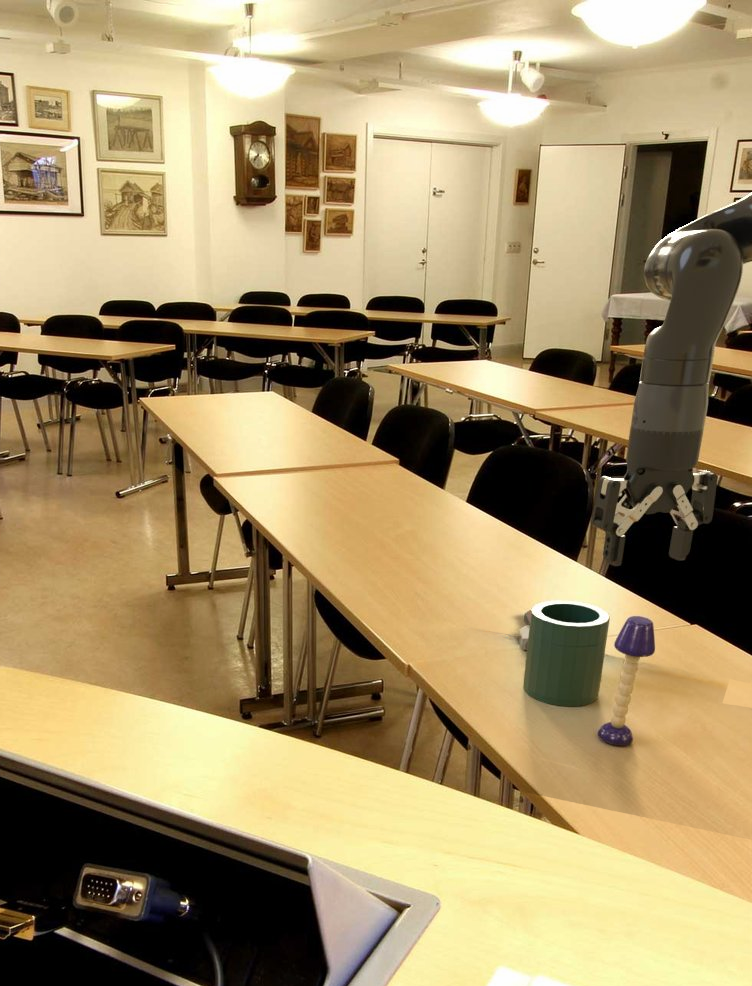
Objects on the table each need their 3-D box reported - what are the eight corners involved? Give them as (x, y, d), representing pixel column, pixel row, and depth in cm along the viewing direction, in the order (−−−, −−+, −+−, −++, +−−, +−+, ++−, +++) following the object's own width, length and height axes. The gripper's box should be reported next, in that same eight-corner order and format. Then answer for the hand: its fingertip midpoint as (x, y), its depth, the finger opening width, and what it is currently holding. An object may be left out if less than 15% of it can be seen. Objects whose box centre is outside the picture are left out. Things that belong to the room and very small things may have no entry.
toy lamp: (637, 734, 119) (660, 615, 112) (636, 750, 115) (659, 628, 108) (598, 727, 120) (618, 610, 114) (596, 743, 117) (616, 622, 110)
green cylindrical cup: (605, 685, 132) (616, 608, 128) (588, 712, 125) (600, 631, 120) (534, 671, 138) (543, 596, 133) (514, 696, 130) (522, 617, 125)
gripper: (630, 432, 98) (609, 575, 104) (746, 425, 100) (719, 565, 106) (591, 422, 105) (573, 557, 111) (700, 415, 107) (677, 548, 113)
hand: (645, 561), depth 108 cm, fingers open, 8 cm apart
